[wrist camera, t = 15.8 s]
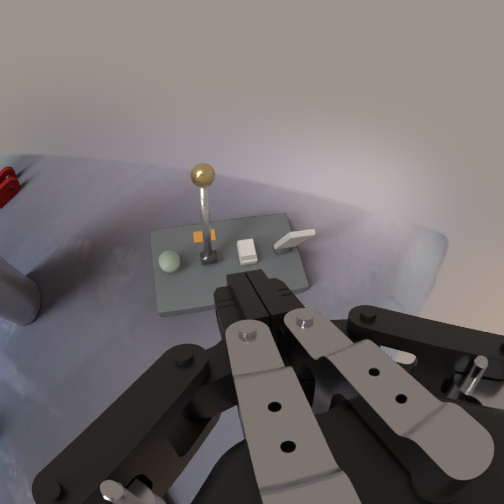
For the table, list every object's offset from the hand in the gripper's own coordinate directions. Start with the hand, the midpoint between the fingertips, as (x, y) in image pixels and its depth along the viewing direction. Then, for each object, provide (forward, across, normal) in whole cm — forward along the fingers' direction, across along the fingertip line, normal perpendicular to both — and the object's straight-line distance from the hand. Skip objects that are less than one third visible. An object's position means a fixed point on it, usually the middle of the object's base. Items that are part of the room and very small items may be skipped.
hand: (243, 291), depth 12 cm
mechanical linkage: (+51, +52, -5) cm, 73 cm away
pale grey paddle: (+29, -13, +10) cm, 33 cm away
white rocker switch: (+29, -7, +10) cm, 31 cm away
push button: (+30, +5, +11) cm, 32 cm away
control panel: (+32, -4, +13) cm, 35 cm away
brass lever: (+29, -1, +10) cm, 31 cm away
